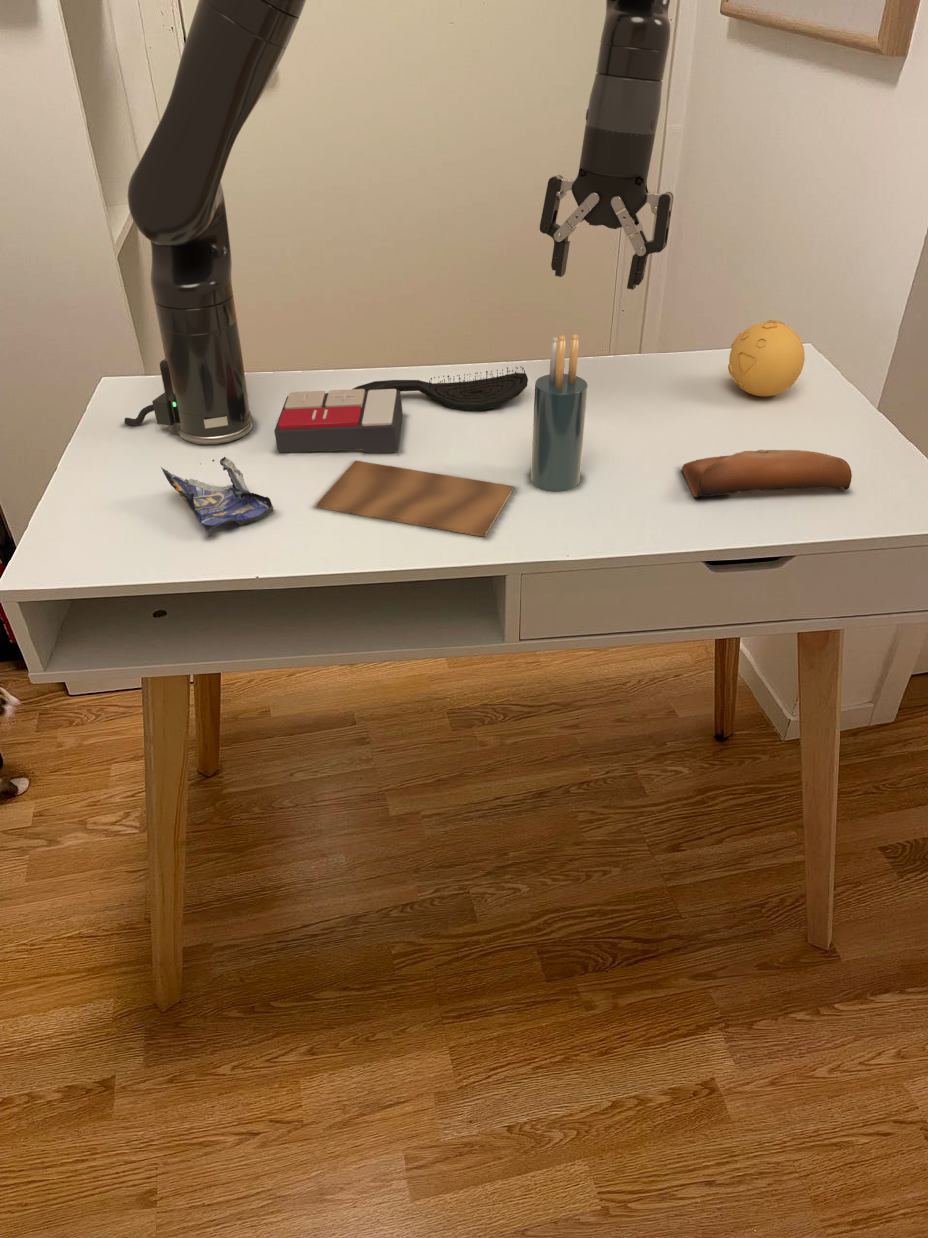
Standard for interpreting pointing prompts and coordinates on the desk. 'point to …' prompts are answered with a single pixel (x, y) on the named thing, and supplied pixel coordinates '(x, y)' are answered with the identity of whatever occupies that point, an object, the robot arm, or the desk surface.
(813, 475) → the sunglasses case
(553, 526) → the desk surface
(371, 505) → the brown wooden board
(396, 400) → the calculator
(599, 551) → the desk surface
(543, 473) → the cutlery holder
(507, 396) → the hairbrush
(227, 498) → the snack package
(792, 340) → the stress ball
